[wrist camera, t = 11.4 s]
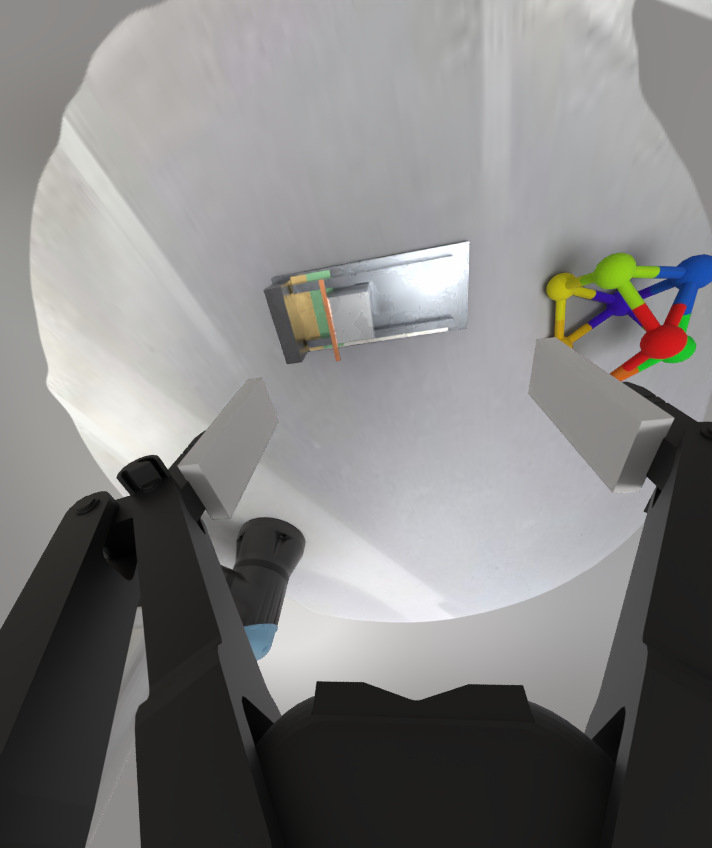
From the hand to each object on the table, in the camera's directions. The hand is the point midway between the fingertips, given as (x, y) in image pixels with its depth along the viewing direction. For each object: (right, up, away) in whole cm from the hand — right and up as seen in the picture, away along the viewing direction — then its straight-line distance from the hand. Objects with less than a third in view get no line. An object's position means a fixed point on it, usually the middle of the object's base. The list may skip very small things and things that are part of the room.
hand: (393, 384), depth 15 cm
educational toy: (+28, +14, +24) cm, 39 cm away
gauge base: (0, +14, +25) cm, 29 cm away
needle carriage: (-2, +13, +24) cm, 27 cm away
